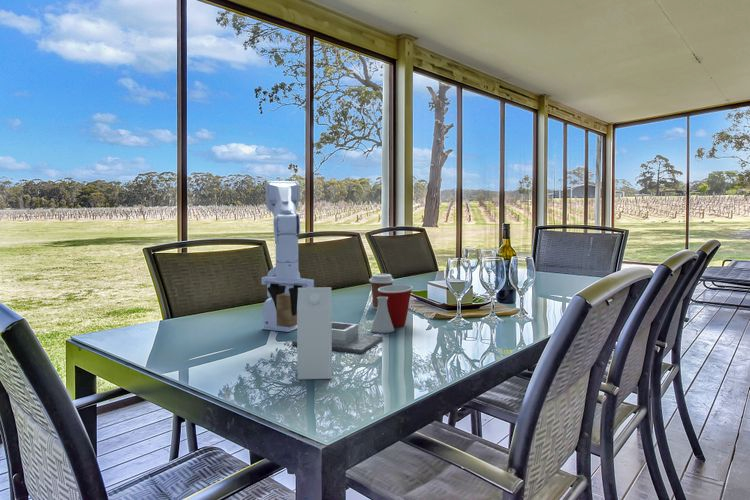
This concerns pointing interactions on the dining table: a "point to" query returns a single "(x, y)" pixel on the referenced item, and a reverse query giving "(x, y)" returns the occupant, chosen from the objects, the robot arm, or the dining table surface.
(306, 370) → the milk carton
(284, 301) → the walnut rail post
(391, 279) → the coffee cup
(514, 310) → the dining table surface
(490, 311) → the dining table surface
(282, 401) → the dining table surface
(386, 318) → the flask
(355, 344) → the post socket base
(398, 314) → the plastic cup
